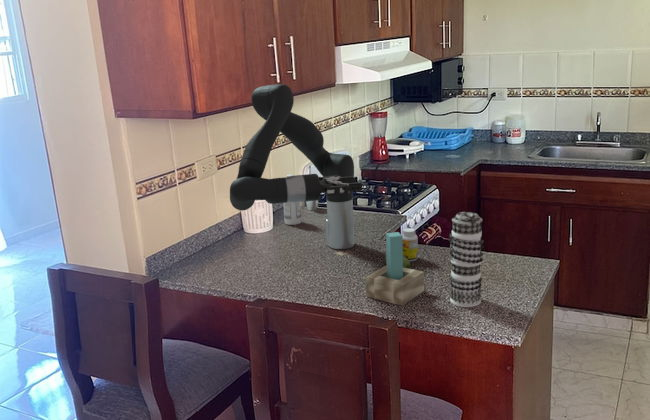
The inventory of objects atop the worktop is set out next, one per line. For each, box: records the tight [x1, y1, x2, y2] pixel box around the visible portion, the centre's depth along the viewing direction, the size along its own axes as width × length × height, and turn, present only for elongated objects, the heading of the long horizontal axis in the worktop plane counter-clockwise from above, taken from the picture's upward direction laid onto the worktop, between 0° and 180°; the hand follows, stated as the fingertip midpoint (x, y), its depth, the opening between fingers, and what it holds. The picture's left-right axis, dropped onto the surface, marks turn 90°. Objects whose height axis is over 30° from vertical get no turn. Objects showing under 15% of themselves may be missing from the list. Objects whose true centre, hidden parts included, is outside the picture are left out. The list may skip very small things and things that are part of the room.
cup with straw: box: [305, 165, 319, 211], centre depth 269 cm, size 8×9×20 cm
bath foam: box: [282, 174, 302, 226], centre depth 249 cm, size 7×7×20 cm
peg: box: [385, 231, 403, 280], centre depth 175 cm, size 4×4×16 cm
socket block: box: [365, 264, 425, 306], centre depth 177 cm, size 12×12×6 cm
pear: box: [384, 255, 412, 269], centre depth 197 cm, size 6×5×10 cm
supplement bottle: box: [401, 227, 419, 262], centre depth 203 cm, size 6×6×10 cm
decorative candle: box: [448, 211, 485, 308], centre depth 168 cm, size 9×9×25 cm
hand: (358, 183), depth 174 cm, fingers open, 8 cm apart
